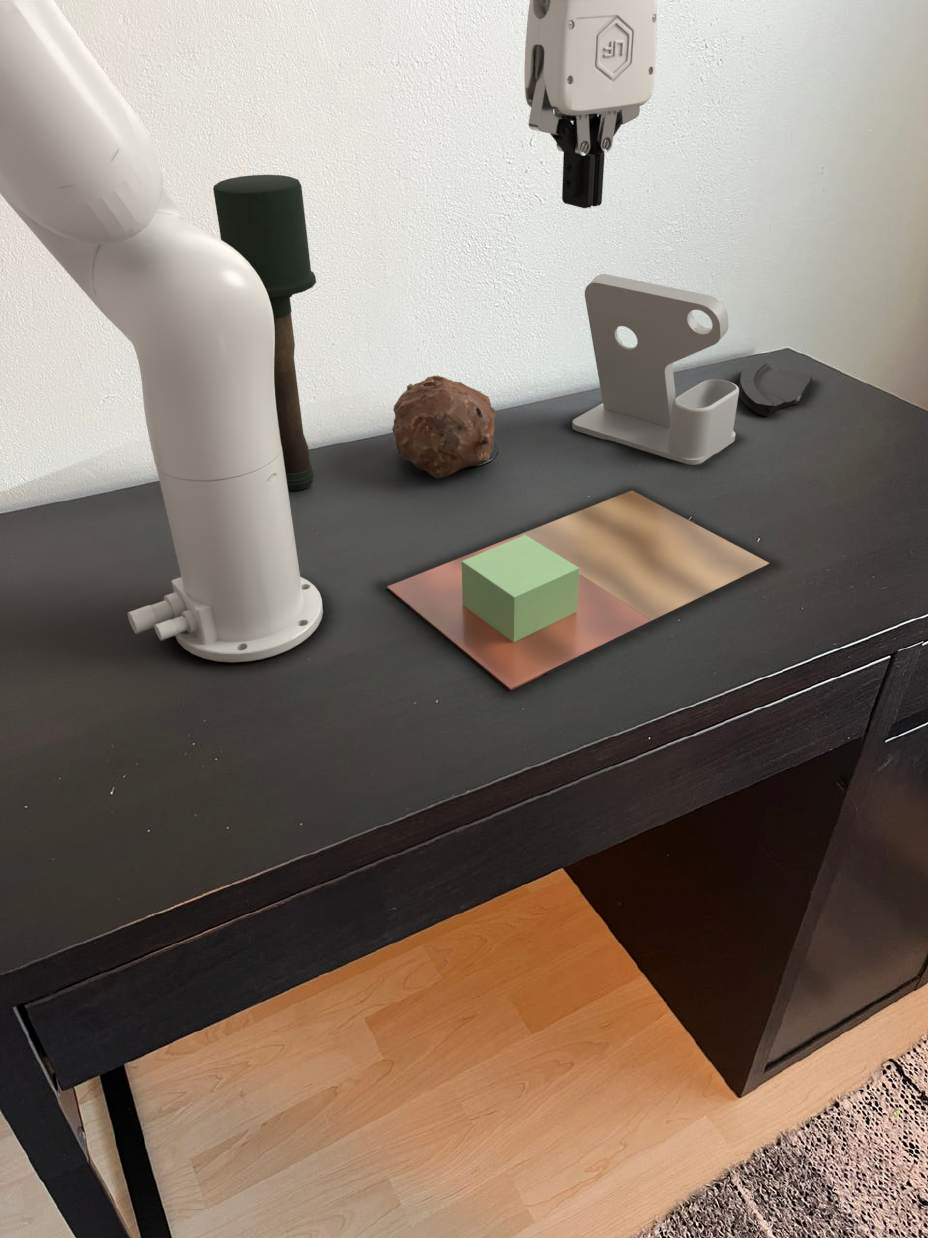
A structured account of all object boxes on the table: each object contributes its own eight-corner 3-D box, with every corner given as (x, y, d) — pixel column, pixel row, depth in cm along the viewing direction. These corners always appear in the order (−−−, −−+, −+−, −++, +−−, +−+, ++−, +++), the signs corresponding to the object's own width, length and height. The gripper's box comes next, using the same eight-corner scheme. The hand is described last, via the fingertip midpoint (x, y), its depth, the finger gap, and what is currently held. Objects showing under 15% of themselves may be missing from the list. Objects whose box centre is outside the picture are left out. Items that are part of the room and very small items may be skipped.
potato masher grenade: (344, 467, 106) (314, 172, 89) (327, 505, 99) (291, 192, 82) (269, 465, 107) (225, 172, 89) (247, 502, 100) (194, 192, 82)
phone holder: (741, 438, 110) (767, 278, 99) (697, 469, 104) (719, 302, 93) (614, 401, 119) (625, 251, 109) (566, 428, 113) (573, 272, 103)
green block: (513, 642, 78) (514, 597, 76) (462, 605, 83) (461, 560, 81) (576, 612, 82) (579, 567, 79) (524, 577, 86) (525, 534, 84)
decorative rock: (508, 487, 101) (508, 397, 95) (402, 499, 100) (397, 408, 94) (481, 436, 112) (480, 352, 106) (385, 446, 110) (379, 361, 104)
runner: (510, 690, 74) (510, 688, 74) (386, 588, 86) (386, 586, 86) (769, 564, 88) (769, 562, 88) (631, 491, 100) (631, 490, 100)
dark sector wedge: (717, 408, 117) (719, 395, 116) (750, 371, 127) (752, 359, 126) (786, 420, 114) (789, 407, 113) (814, 382, 123) (816, 370, 122)
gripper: (547, -66, 63) (540, 226, 74) (705, -69, 70) (677, 198, 81) (480, -64, 68) (482, 209, 79) (633, -67, 75) (616, 184, 86)
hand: (581, 203), depth 80 cm, fingers closed
